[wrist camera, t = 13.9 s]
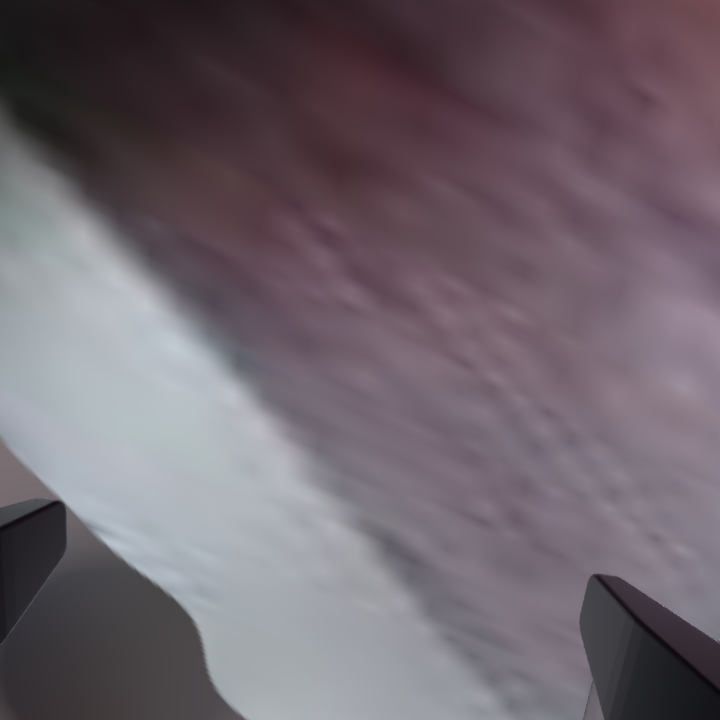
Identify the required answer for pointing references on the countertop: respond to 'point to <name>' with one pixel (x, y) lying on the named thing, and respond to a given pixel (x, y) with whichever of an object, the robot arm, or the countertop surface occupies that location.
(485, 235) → the countertop surface
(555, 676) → the countertop surface
